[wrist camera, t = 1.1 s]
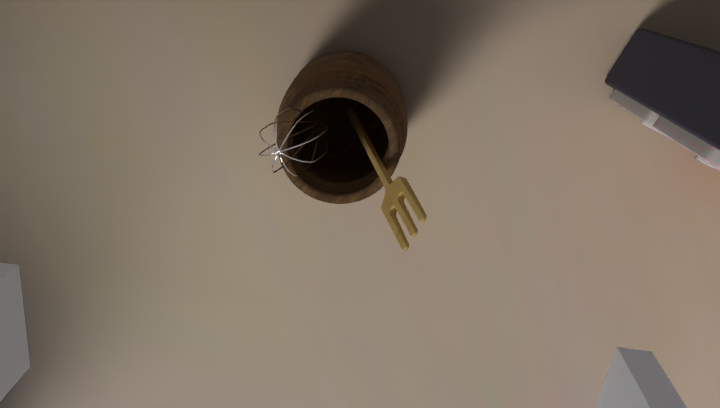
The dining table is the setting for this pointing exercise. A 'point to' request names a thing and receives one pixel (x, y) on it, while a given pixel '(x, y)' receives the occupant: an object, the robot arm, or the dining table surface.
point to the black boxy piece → (672, 91)
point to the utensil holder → (346, 135)
